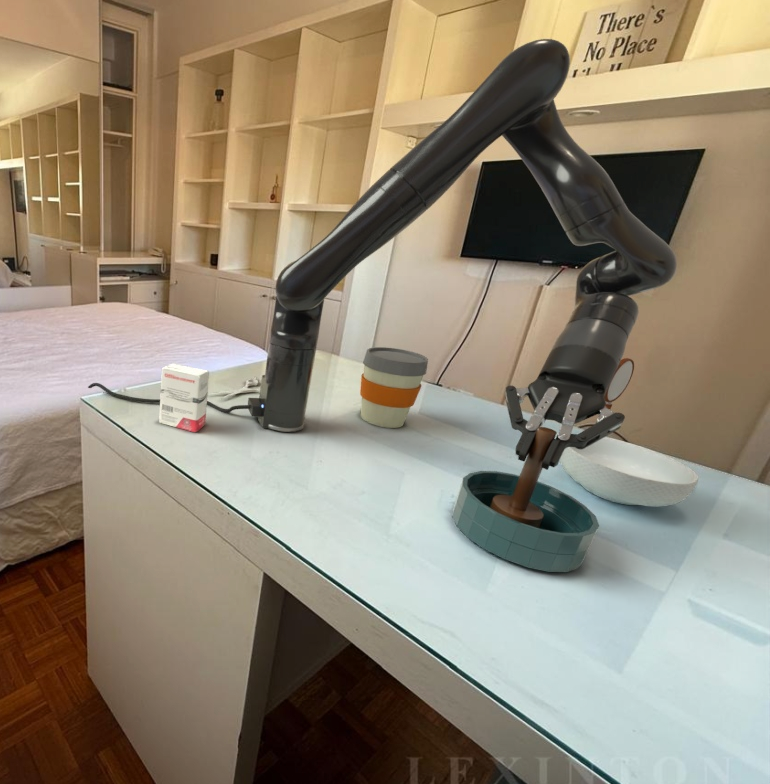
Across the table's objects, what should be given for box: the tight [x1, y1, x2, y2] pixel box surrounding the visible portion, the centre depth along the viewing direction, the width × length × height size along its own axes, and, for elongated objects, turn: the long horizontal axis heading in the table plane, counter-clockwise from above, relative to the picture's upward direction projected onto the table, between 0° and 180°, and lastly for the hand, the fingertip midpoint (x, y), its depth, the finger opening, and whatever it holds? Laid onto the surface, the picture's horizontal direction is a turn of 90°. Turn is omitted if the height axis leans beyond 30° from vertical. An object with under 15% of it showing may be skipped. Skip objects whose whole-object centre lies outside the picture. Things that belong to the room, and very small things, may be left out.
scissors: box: [209, 376, 260, 400], centre depth 112 cm, size 11×1×20 cm
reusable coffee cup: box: [359, 346, 429, 429], centre depth 99 cm, size 13×13×15 cm
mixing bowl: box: [451, 470, 600, 573], centre depth 63 cm, size 15×15×6 cm
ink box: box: [158, 363, 210, 433], centre depth 90 cm, size 8×5×12 cm, turn 63°
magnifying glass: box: [604, 357, 635, 410], centre depth 87 cm, size 9×2×20 cm, turn 117°
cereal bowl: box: [559, 436, 699, 507], centre depth 76 cm, size 17×17×7 cm
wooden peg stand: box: [490, 426, 558, 528], centre depth 62 cm, size 6×6×14 cm
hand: (533, 461), depth 60 cm, fingers closed on wooden peg stand
